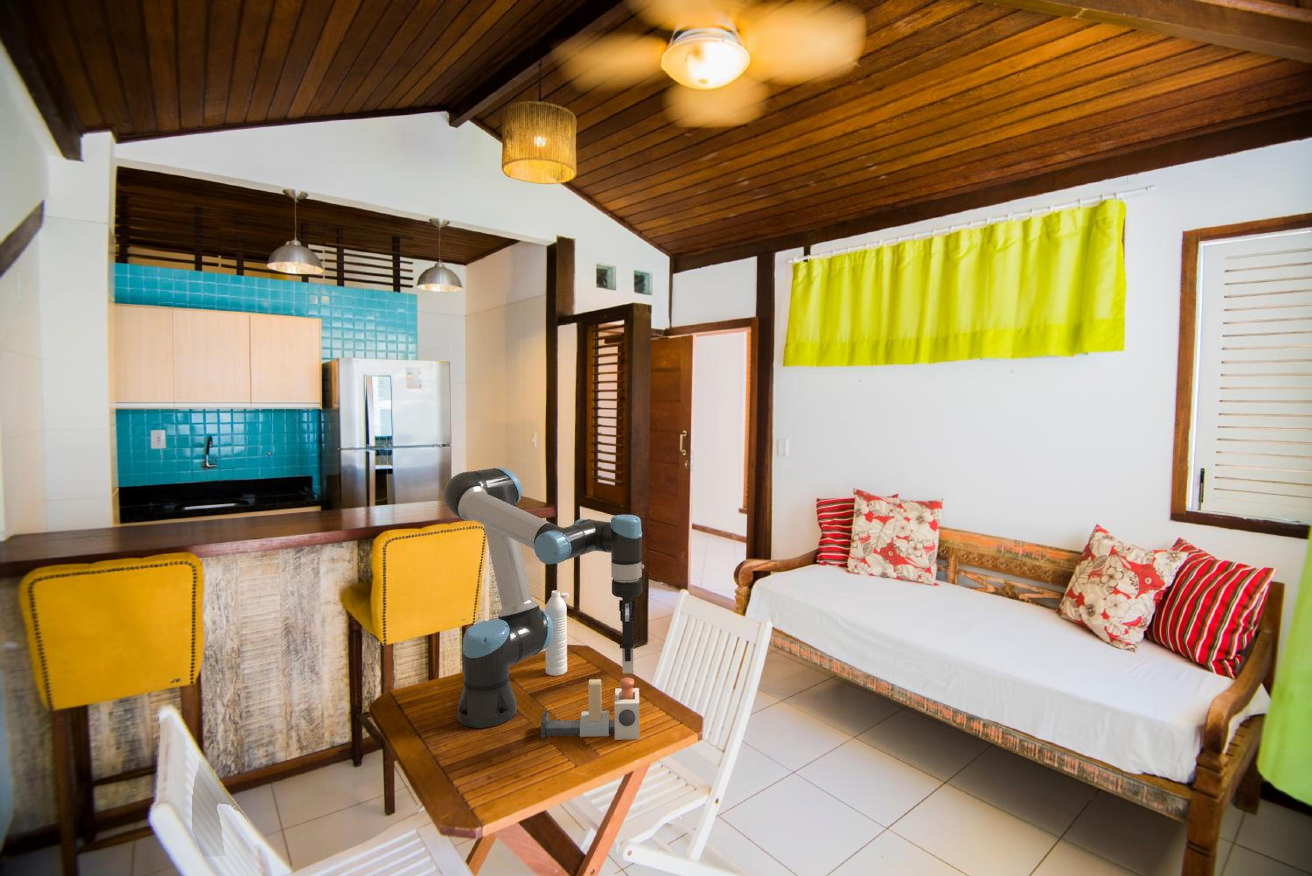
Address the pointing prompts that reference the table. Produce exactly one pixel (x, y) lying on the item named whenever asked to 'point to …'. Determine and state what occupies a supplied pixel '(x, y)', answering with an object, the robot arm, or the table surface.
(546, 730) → the rail
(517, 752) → the table surface
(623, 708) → the grey box housing
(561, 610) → the water bottle
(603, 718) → the carriage
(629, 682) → the button
